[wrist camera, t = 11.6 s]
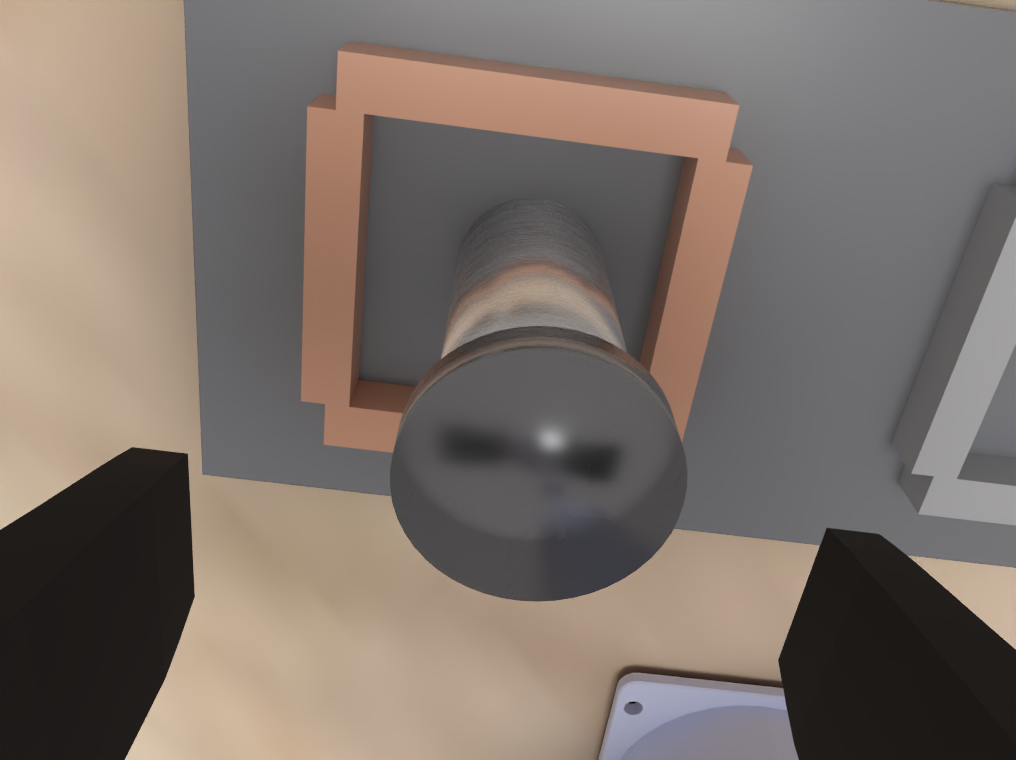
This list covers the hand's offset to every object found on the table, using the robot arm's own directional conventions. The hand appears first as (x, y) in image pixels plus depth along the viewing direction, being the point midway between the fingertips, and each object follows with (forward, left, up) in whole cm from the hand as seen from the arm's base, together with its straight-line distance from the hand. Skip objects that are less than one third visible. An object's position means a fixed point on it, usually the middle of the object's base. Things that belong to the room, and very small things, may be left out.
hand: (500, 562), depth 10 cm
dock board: (0, -6, -10) cm, 12 cm away
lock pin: (0, 0, -9) cm, 9 cm away
